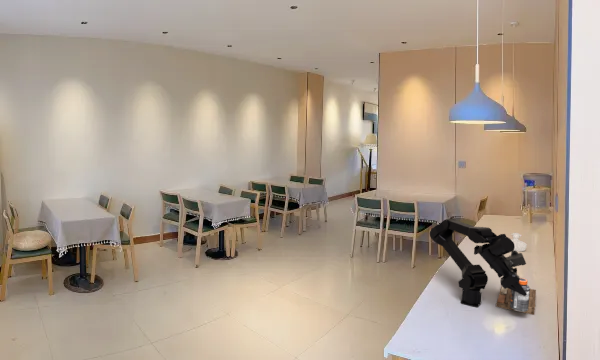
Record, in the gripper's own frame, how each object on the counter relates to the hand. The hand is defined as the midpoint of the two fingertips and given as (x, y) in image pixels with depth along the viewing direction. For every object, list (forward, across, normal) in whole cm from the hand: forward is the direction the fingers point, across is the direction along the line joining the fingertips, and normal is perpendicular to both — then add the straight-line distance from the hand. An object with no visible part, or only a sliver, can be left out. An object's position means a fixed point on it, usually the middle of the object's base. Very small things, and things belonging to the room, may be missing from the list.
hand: (524, 292), depth 146 cm
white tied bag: (+11, +100, +3) cm, 101 cm away
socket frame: (+6, +16, +7) cm, 19 cm away
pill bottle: (+4, 0, +6) cm, 7 cm away
